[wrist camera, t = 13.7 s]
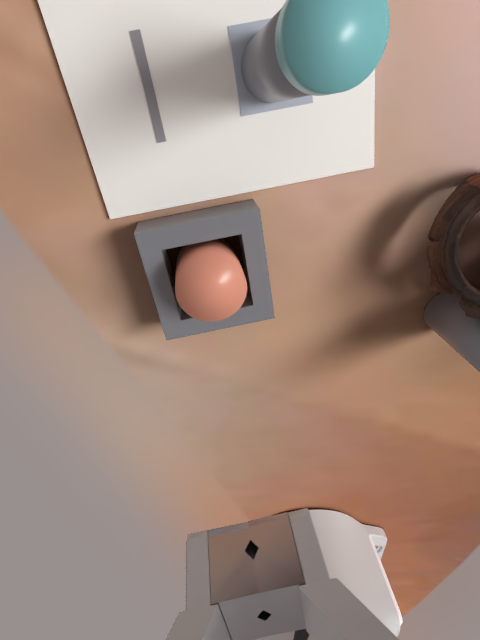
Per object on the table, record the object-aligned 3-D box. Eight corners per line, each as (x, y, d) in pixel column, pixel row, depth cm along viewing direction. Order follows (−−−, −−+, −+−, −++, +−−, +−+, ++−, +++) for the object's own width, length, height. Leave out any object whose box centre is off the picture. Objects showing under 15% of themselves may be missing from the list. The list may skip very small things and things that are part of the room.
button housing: (267, 300, 27) (274, 317, 25) (167, 321, 27) (166, 340, 25) (252, 199, 24) (259, 208, 22) (138, 221, 23) (133, 233, 21)
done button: (243, 288, 26) (252, 313, 23) (184, 300, 26) (184, 327, 23) (233, 230, 24) (240, 249, 21) (168, 243, 24) (167, 264, 21)
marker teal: (303, 102, 21) (384, 89, 13) (241, 107, 21) (286, 96, 13) (303, 25, 20) (394, -42, 12) (236, 29, 19) (284, -38, 11)
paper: (372, 166, 24) (374, 167, 23) (110, 218, 23) (109, 219, 23) (374, -112, 18) (376, -114, 18) (21, -51, 17) (19, -52, 17)
